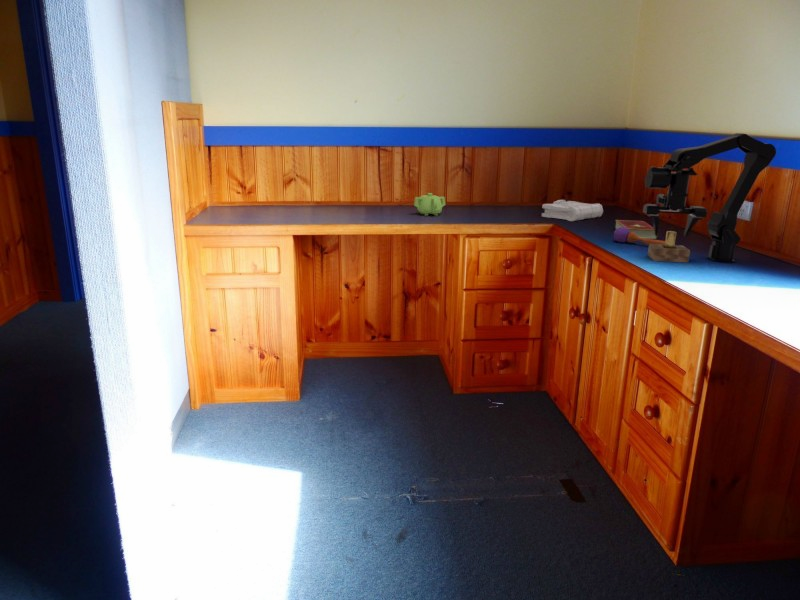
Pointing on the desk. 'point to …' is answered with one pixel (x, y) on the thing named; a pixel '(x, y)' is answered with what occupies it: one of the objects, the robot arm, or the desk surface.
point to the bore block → (668, 253)
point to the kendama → (632, 237)
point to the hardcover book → (637, 228)
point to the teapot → (429, 204)
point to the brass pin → (670, 239)
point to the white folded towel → (572, 210)
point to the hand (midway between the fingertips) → (670, 236)
